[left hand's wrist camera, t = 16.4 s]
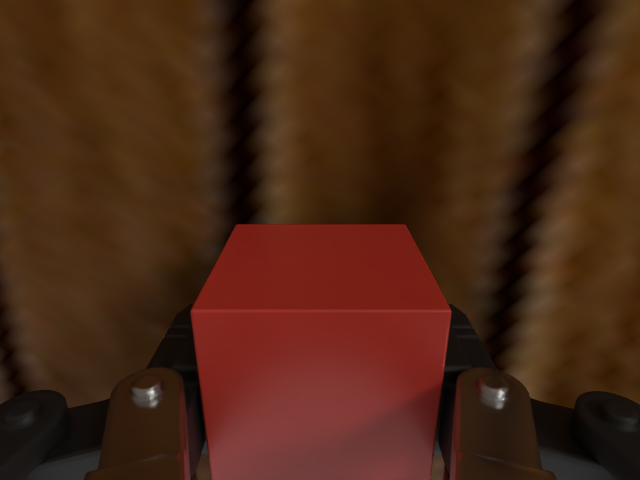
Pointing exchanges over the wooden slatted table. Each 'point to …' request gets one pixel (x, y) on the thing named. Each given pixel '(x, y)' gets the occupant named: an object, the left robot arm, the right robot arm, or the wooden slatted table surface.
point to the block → (320, 354)
